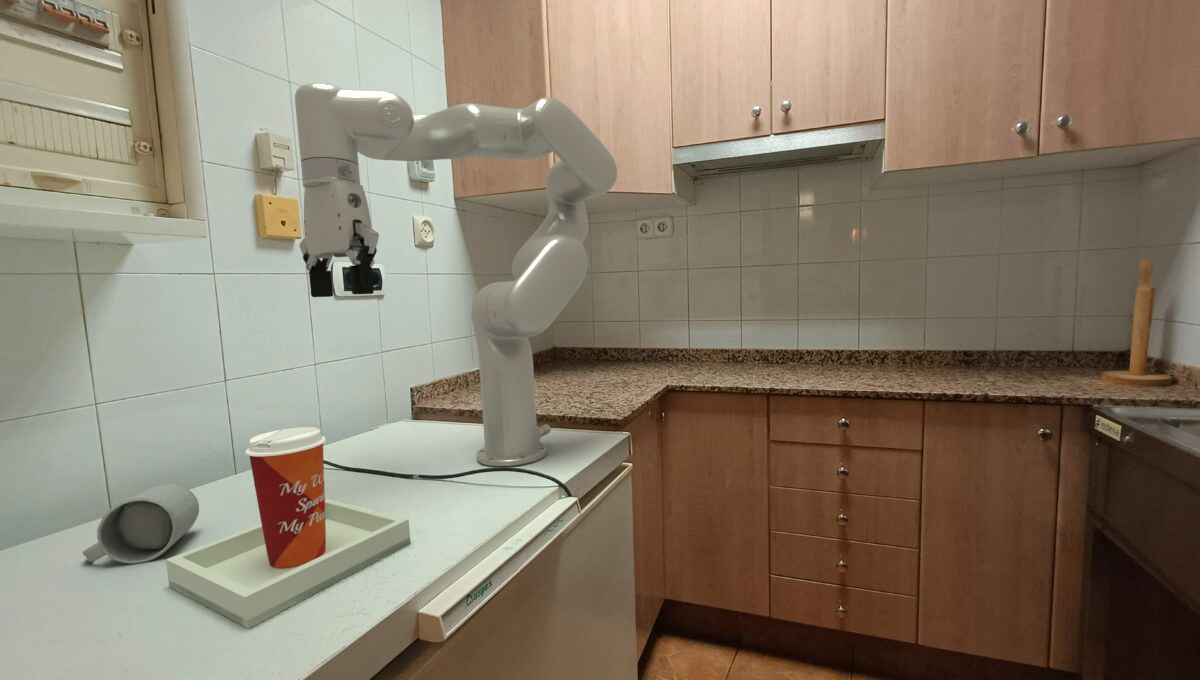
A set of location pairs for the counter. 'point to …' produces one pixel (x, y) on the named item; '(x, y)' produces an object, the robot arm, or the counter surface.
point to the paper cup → (290, 494)
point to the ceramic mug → (145, 525)
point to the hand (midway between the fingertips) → (342, 295)
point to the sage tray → (259, 591)
